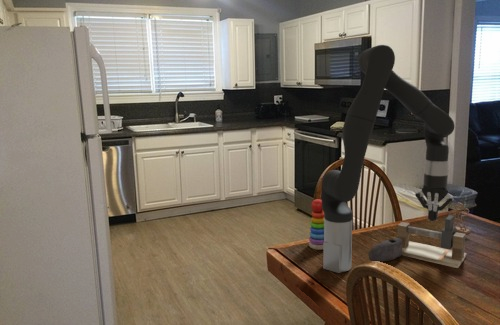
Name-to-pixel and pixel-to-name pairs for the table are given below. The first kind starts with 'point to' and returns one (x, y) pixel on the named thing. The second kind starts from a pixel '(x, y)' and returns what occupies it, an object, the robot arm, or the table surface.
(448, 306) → the table surface
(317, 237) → the stacking toy
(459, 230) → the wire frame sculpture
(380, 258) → the perforated stone tool
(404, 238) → the pipe stand
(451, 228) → the collar
